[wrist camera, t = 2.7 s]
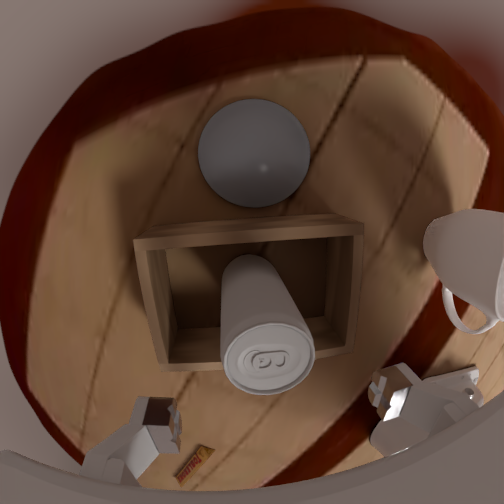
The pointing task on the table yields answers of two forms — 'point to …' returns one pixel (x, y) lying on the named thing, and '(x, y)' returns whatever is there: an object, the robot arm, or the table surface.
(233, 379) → the beverage can
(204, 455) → the chocolate bar
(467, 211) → the mug
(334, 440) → the table surface
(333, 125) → the table surface
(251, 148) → the slate coaster
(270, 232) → the box
